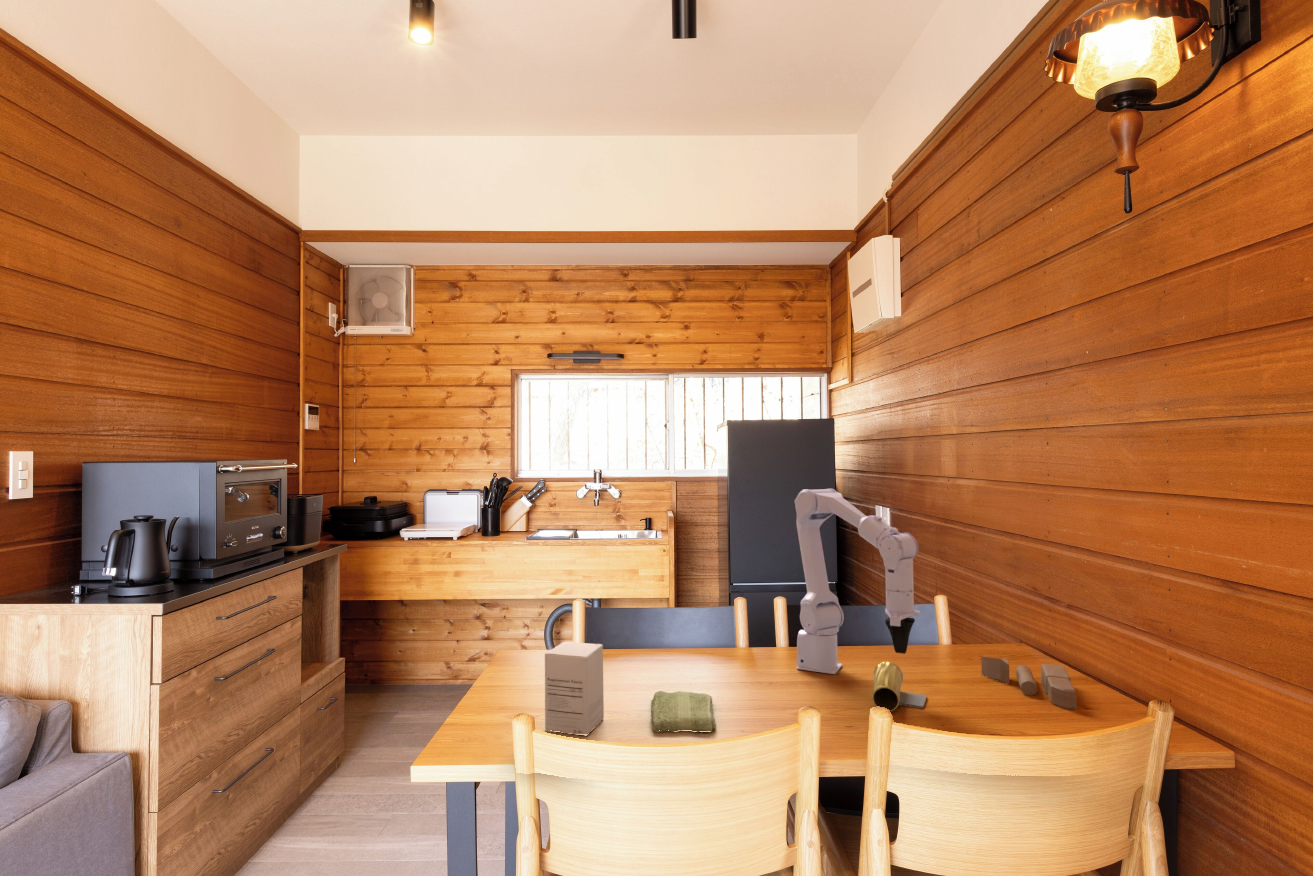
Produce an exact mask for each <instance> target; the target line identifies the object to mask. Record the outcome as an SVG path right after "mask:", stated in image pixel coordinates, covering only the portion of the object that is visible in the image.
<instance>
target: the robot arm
mask: <svg viewBox="0 0 1313 876" xmlns="http://www.w3.org/2000/svg"><path fill="white" fill-rule="evenodd" d="M843 496H844V495H843V494H842V493H840V492H838V491H836V489H834V488H830V487H829V488H824V489H822V488H821V489H820V488H819V489H808V488H807V489H802V490H800V492H798V494H797V496H796V498H794V505H795V506H794V507H795V511H796V518H795V519H796V523H795V524H796V531H797V536H798V543H799V549H800V556H801V563H802V568H803V573H804V574H803V575H804V579H805V585H806V586H805V587H806V594H805V595H804V597H803V598H802V599H801V600H800V601H799V603H800V613H799V621H800V624H801V626H802V628H803V629H800V630H799V631H798V632H797V633H798V634H797V637H796V638H797V639H796V664H797V665H796V670H804V671H810V672H815V673H816V672H817V673H823V674H830V675H836V674H837V673H838V671H839V670H840V669H841V667H842V666H843V663H840V662H838V632H839V631H840V627H841V626H842V625H843V622H844V620H845V619H844V618H845V617H844V611H843V608H842V607H841V605H840V602H839V598H838V596H837V595H836V594H835V593H833V592H832V591H831V590H830V585H829V579H828V573H827V568H826V567H827V566H826V561H825V555H824V549H823V542H822V536H821V531H820V528H821V526H822V524H823V523H824V522H825V521H826V520H828V519H829V518H830V517H831V516H833V515H836V516H838V517H839V518H840V519H843V521H846V522H847V523H849V524H850V525H852V526H854V527H856V528H857V532H858V536H860V537H861V538H862V539H864V540H865V541H866V542H868V543H869V544H870V545H872V546H873V547H875V548H876V549H877V550H878V551H879V555H880V556H881V558H882V560H883V566H884V569H885V570H884V571H885V609H884V613H885V614H886V616H888V617H886V619H884V621H885V625H886V627H887V628H888V630H889V633H890V637H891V640H892V645H893V649H894V652H895V653H897V654H902V655H904V654H906V653H907V650H908V647H909V646H908V645H909V639H910V634H911V630H912V627H913V625H914V623H915V622H916V621H915V620H916V619H915V618H913V616H920V614H921V611H920V610H916V609H915V601H914V600H915V599H914V596H915V595H914V593H915V592H914V590H915V589H914V559H915V558H916V557H917V556H918V553H919V543H918V541H917V539H916V538H915V537H914V536H913V535H912V534H911V533H910V532H902V533H901V532H899V529H898V528H897V527H893V526H891V525H889V524H888V523H886V522H885V521H884V520H883V517H882V516H880V515H873V514H872V515H865V514H864V513H863V512H862V511H861V510H859V509H858V507H857V508H856V506H854V505H853V504H852V503H850V502H849V501H847V500H846V499H845V498H844V497H843Z"/></svg>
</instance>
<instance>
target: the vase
mask: <svg viewBox="0 0 1313 876" xmlns="http://www.w3.org/2000/svg"><path fill="white" fill-rule="evenodd" d="M903 680H904V675H903V671H902V669H901V668H900V667H899V666H898V665H897V664H895V663H894V662H892V661H882V662H879V663H878V664H877V665H875V667H874V670H873V686H872V694H871V699H872V702H873V705H874V706H875V707H876V706H880V707H885V708H887V709H889V710H890V711H891V712H890V713H892V712H894V711H895V710H896V709H898V707H899V706H900V705H899V702H900V692H901V686H902V683H903Z"/></svg>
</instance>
